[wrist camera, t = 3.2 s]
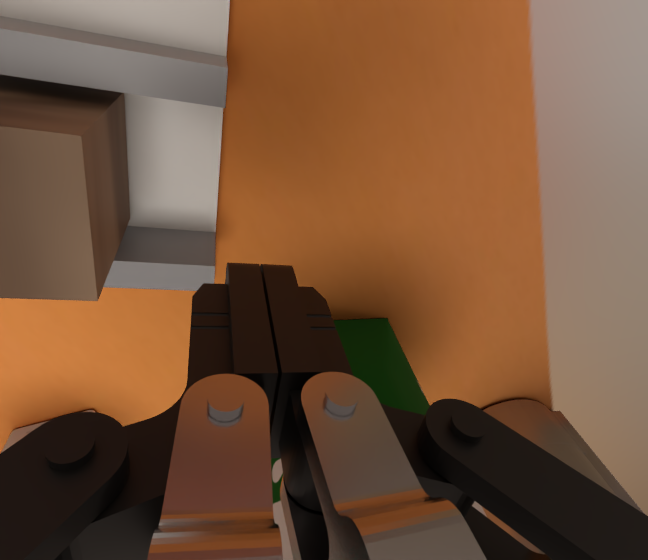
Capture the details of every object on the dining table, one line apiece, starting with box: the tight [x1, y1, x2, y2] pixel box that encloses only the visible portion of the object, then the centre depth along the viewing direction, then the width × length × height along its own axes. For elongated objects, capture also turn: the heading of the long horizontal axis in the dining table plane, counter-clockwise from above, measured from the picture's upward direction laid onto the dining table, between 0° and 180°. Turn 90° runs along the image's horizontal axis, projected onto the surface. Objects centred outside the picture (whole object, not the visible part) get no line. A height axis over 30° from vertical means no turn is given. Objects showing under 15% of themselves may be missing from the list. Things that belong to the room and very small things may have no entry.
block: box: [0, 74, 130, 301], centre depth 14 cm, size 5×5×6 cm
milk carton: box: [271, 318, 487, 560], centre depth 19 cm, size 9×9×20 cm
